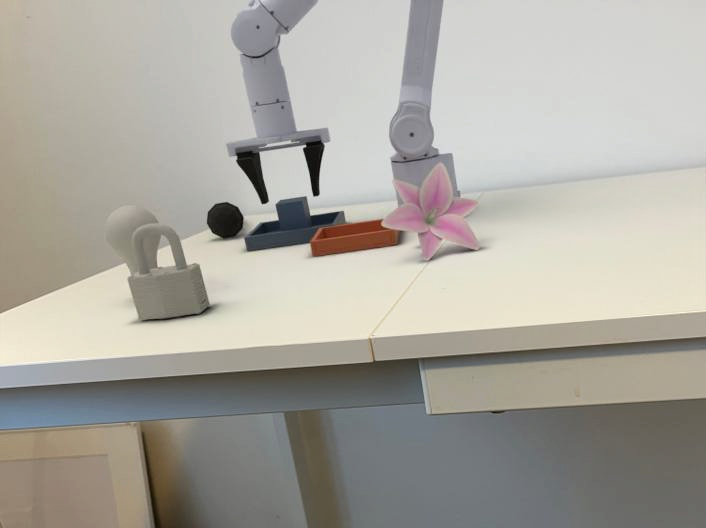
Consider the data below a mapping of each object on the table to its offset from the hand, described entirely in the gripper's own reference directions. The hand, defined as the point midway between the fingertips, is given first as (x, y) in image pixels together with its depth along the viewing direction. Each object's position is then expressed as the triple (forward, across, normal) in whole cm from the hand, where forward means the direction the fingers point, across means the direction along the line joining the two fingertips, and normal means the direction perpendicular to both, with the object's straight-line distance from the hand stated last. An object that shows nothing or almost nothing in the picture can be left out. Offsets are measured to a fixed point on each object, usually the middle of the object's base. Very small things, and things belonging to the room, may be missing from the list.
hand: (291, 199), depth 119 cm
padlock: (+6, -8, -35) cm, 36 cm away
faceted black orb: (+6, -13, +15) cm, 21 cm away
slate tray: (+6, 0, 0) cm, 6 cm away
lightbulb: (+6, -14, -25) cm, 29 cm away
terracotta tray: (+6, +10, -11) cm, 16 cm away
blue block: (+5, 0, 0) cm, 5 cm away
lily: (+6, +21, -23) cm, 32 cm away
